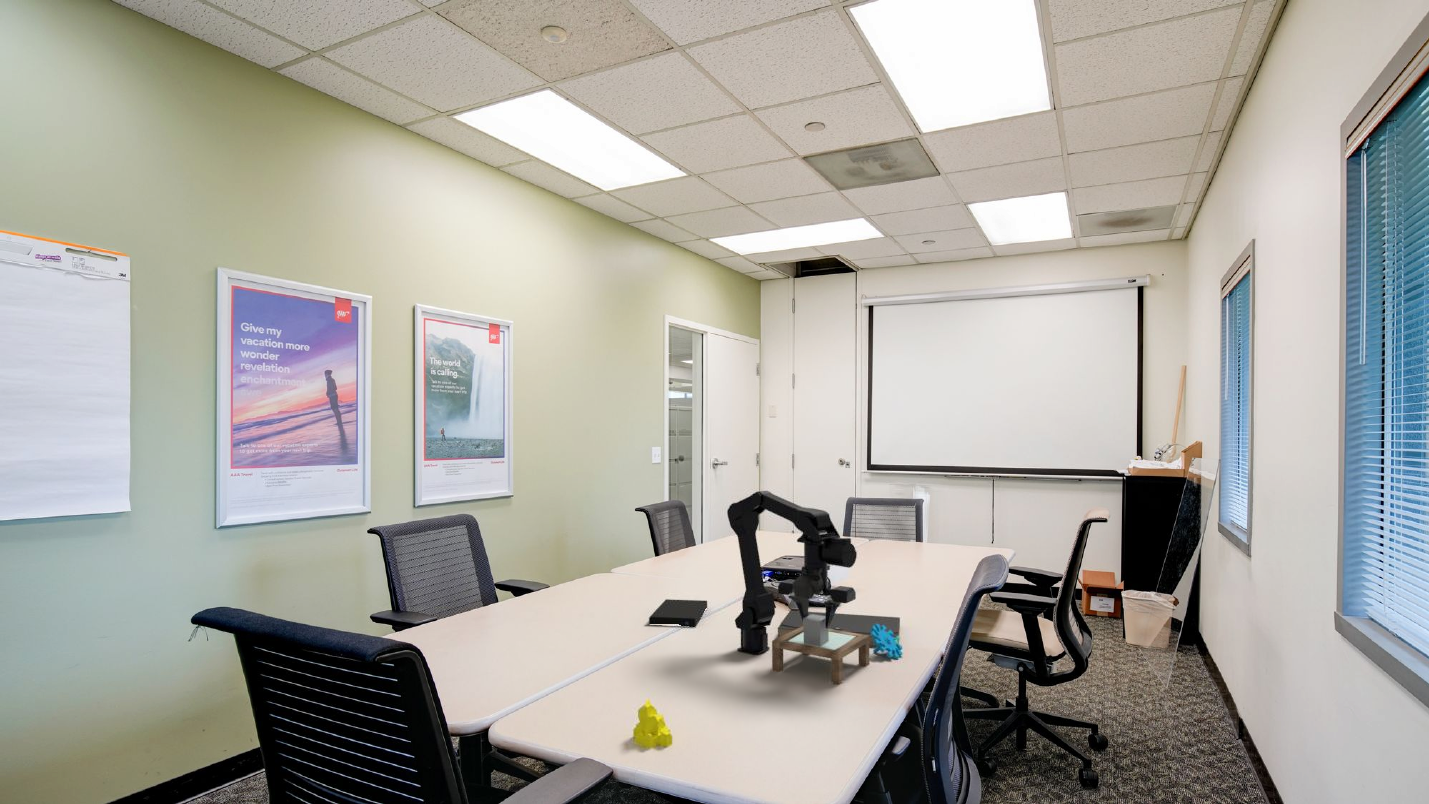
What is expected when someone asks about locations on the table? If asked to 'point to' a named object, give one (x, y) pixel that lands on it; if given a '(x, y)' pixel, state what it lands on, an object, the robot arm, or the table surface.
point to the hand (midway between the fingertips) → (816, 626)
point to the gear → (886, 641)
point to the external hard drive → (679, 612)
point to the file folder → (844, 624)
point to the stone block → (815, 630)
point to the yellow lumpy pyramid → (651, 728)
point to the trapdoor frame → (822, 651)
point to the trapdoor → (833, 643)
